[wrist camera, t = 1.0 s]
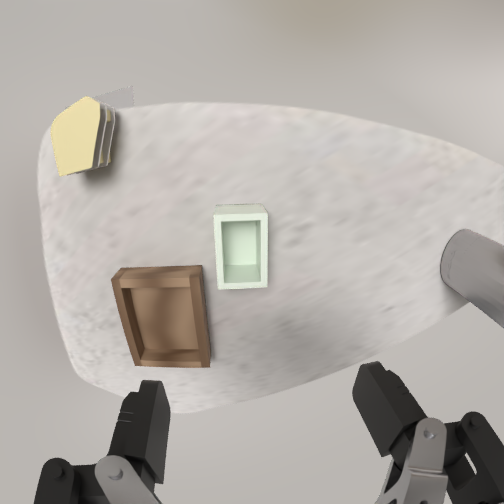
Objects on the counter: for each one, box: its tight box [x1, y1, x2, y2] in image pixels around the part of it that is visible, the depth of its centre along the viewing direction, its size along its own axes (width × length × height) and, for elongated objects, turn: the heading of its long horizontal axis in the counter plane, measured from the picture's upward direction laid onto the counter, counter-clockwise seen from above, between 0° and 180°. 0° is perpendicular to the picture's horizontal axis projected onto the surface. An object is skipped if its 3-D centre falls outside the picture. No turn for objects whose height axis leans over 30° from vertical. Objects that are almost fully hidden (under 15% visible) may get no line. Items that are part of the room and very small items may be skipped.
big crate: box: [111, 265, 211, 368], centre depth 30 cm, size 10×12×3 cm
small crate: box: [214, 204, 268, 289], centre depth 27 cm, size 5×7×5 cm, turn 1°
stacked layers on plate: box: [51, 86, 134, 177], centre depth 22 cm, size 10×9×6 cm
